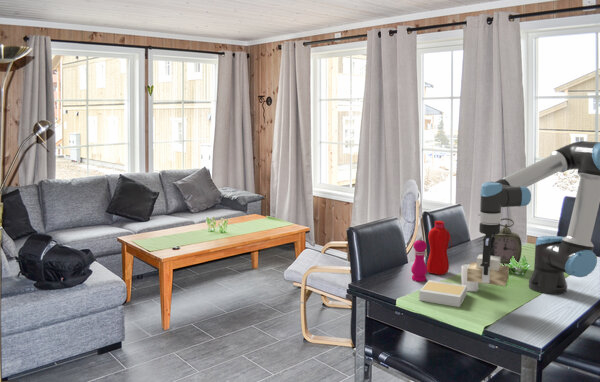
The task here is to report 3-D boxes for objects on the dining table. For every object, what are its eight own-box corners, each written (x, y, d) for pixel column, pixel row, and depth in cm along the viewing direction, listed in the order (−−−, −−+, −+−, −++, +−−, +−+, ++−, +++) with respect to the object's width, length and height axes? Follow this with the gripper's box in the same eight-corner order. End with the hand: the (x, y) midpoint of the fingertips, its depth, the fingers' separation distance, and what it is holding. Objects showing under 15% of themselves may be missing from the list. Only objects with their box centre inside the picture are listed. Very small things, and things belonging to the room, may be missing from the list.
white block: (500, 266, 206) (500, 256, 205) (498, 270, 200) (498, 260, 200) (478, 264, 209) (479, 254, 209) (476, 268, 204) (476, 258, 203)
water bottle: (446, 277, 245) (448, 224, 241) (424, 272, 251) (426, 221, 248) (454, 272, 252) (456, 221, 248) (432, 268, 258) (434, 218, 255)
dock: (466, 294, 221) (467, 285, 220) (459, 306, 207) (460, 297, 206) (428, 288, 228) (428, 279, 228) (419, 300, 214) (419, 290, 213)
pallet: (508, 278, 207) (508, 266, 206) (505, 286, 198) (506, 273, 197) (471, 273, 213) (471, 261, 212) (467, 280, 204) (467, 268, 204)
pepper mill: (427, 282, 237) (428, 239, 234) (410, 281, 238) (412, 238, 235) (426, 277, 244) (428, 235, 241) (410, 276, 245) (412, 234, 242)
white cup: (464, 284, 234) (465, 263, 232) (482, 288, 229) (483, 266, 227) (457, 289, 227) (458, 267, 226) (475, 293, 223) (476, 270, 221)
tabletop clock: (488, 269, 257) (491, 219, 253) (487, 264, 265) (490, 215, 262) (520, 272, 253) (523, 220, 249) (518, 266, 261) (521, 217, 258)
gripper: (483, 216, 214) (481, 269, 217) (475, 227, 194) (472, 285, 197) (503, 218, 211) (501, 271, 214) (496, 229, 191) (494, 288, 194)
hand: (487, 278), depth 206 cm, fingers closed on pallet, 10 cm apart
